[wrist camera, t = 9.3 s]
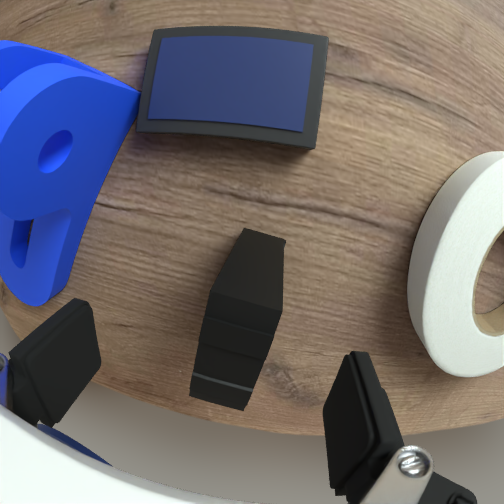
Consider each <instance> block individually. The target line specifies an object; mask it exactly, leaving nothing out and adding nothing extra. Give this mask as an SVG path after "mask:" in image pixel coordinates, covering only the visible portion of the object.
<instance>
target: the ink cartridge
mask: <svg viewBox="0 0 504 504" xmlns="http://www.w3.org/2000/svg"><path fill="white" fill-rule="evenodd" d="M285 243H286V240H284V239H282V238H278V237H275V236H271V235H268V234H264V233H261V232H257V231H254V230H250V229H246V228H244V229H243V231H242V233H241V234H240V236H239V238H238V240H237V242H236V244H235V246H234V247H233V249H232V251H231V253H230V255H229V257H228V259H227V260H226V262H225V264H224V266H223V268H222V270H221V272H220V273H219V275H218V277H217V279H216V281H215V283H214V285H213V287H212V288H211V290H210V294H209V298H208V303H207V307H206V311H205V316H204V318H203V322H202V327H201V332H200V336H199V343H198V348H197V353H196V359H195V364H194V369H193V373H192V378H191V383H190V393H189V396H191V397H195V398H198V399H201V400H204V401H208V402H211V403H215V404H218V405H222V406H226V407H229V408H233V409H237V410H241V411H244V408H245V406H246V405H247V404H248V401H249V399H250V397H251V394H252V392H253V389H254V386H255V384H256V381H257V379H258V376H259V374H260V371H261V369H262V366H263V364H264V361H265V360H266V357H267V355H268V352H269V349H270V347H271V344H272V341H273V338H274V334H275V331H276V328H277V325H278V323H279V320H280V317H281V314H282V310H283V267H284V247H285Z"/></svg>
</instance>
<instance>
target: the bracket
mask: <svg viewBox="0 0 504 504" xmlns="http://www.w3.org/2000/svg"><path fill="white" fill-rule="evenodd" d="M0 89H1V91H0V275H1V277H2V279H3V280H4V282H5V284H6V285H7V287H8V288H9V289H10V291H11V292H12V293H13V294H14V295H15V296H16V297H17V298H18V299H19V300H21V301H22V302H24V303H26V304H28V305H31V306H40V305H42V304H44V303H45V302H47V301H48V300H49V299H51V298H52V297H53V296H55V295H56V294H57V293H59V292H60V291H61V290H62V289H63V288H64V287H65V285H66V283H67V281H68V278H69V275H70V271H71V268H72V265H73V261H74V258H75V255H76V252H77V249H78V246H79V243H80V240H81V237H82V234H83V232H84V229H85V226H86V223H87V221H88V218H89V215H90V213H91V210H92V208H93V205H94V203H95V200H96V198H97V196H98V193H99V191H100V188H101V186H102V184H103V182H104V179H105V177H106V175H107V173H108V171H109V168H110V166H111V164H112V162H113V160H114V158H115V156H116V154H117V152H118V150H119V148H120V146H121V144H122V142H123V140H124V138H125V136H126V135H127V133H128V131H129V129H130V127H131V125H132V124H133V122H134V120H135V118H136V116H137V115H138V111H139V104H140V97H141V92H140V91H138V90H136V89H134V88H132V87H130V86H128V85H126V84H124V83H122V82H120V81H119V80H117V79H115V78H113V77H111V76H109V75H107V74H105V73H103V72H100V71H98V70H96V69H94V68H92V67H90V66H88V65H86V64H84V63H81V62H79V61H77V60H75V59H73V58H70V57H68V56H66V55H62V54H59V53H56V52H52V51H49V50H45V49H42V48H38V47H34V46H30V45H26V44H22V43H18V42H13V41H7V40H3V41H0ZM32 219H34V221H33V226H32V230H31V235H30V240H29V245H27V240H28V235H29V230H30V225H31V221H32Z"/></svg>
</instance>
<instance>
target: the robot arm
mask: <svg viewBox="0 0 504 504" xmlns="http://www.w3.org/2000/svg"><path fill="white" fill-rule="evenodd" d="M9 355H10V358H11V359H10V360H8V359H7V358H6V356H4V355H3V354H1V353H0V504H265V503H254V502H245V501H238V500H231V499H225V498H219V497H213V496H209V495H204V494H199V493H195V492H190V491H186V490H182V489H178V488H174V487H171V486H167V485H164V484H160V483H157V482H154V481H151V480H147V479H144V478H141V477H139V476H136V475H133V474H130V473H127V472H125V471H122V470H119V469H117V468H114V467H112V466H110V465H107V464H105V463H102V462H100V461H98V460H96V459H93V458H91V457H89V456H87V455H85V454H83V453H81V452H79V451H77V450H75V449H73V448H71V447H69V446H67V445H65V444H63V443H61V442H59V441H58V440H56V439H54V438H52V437H51V436H49V435H47V434H45V433H44V432H42V431H40V430H39V429H38V426H37V422H38V421H39V420H40V421H41V422H42V423H43V424H45V425H47V426H48V427H50V428H52V427H53V426H54V424H55V423H58V422H60V420H61V419H62V418H63V416H64V415H65V414H66V412H67V411H68V409H69V408H70V407H71V405H72V404H73V403H74V401H75V400H76V399H77V397H78V396H79V394H80V393H81V392H82V391H83V389H84V388H85V387H86V385H87V384H88V383H89V381H90V380H91V379H92V377H93V376H94V375H95V374H96V372H97V371H98V370H99V368H100V366H101V357H100V352H99V347H98V341H97V336H96V330H95V324H94V317H93V311H92V308H91V307H90V305H89V303H88V302H87V301H83V300H80V299H77V298H74V299H72V300H71V301H70V302H68V303H67V304H66V305H65V306H63V307H62V308H61V309H60V310H58V311H57V312H56V313H55V314H53V315H52V316H51V317H50V318H48V319H47V320H46V321H45V322H44V323H42V324H41V325H40V326H39V327H38V328H36V329H35V330H34V331H33V332H32V333H30V334H29V335H28V336H27V337H26V338H25V339H23V340H22V341H21V342H20V343H19V344H18V345H17V346H15V347H14V348H13V349H12V350H11V351H10V352H9ZM323 421H324V430H325V438H326V448H327V458H328V469H329V480H330V487H331V488H332V489H335V496H342V495H346V499H347V501H348V504H477V500H476V497H475V495H474V494H473V493H472V492H471V491H469V490H468V489H465V488H464V487H462V486H460V485H458V484H456V483H454V482H452V481H450V480H448V479H446V478H444V477H442V476H440V475H439V474H437V473H435V472H433V469H434V461H433V459H432V456H431V455H430V454H429V452H428V451H427V450H425V449H423V448H422V447H419V446H415V445H408V446H404V443H403V439H402V436H401V433H400V430H399V427H398V424H397V422H396V419H395V416H394V413H393V410H392V407H391V405H390V402H389V399H388V396H387V394H386V392H385V390H384V389H383V388H381V385H380V382H379V380H378V377H377V374H376V372H375V369H374V366H373V364H372V361H371V359H370V356H369V354H368V353H367V352H359V351H351V353H350V354H349V355H345V356H344V359H343V361H342V364H341V366H340V369H339V371H338V374H337V376H336V379H335V381H334V383H333V386H332V388H331V390H330V393H329V395H328V397H327V400H326V402H325V404H324V407H323Z"/></svg>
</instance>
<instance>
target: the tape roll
mask: <svg viewBox="0 0 504 504" xmlns="http://www.w3.org/2000/svg"><path fill="white" fill-rule="evenodd" d="M503 231H504V152H501V151H494V152H488V153H484V154H481V155H479V156H476V157H474V158H472V159H471V160H469V161H467V162H466V163H465V164H463V165H462V166H461V167H460V168H458V169H457V170H456V171H455V172H454V173H453V174H452V175H451V176H450V177H449V179H448V180H447V181H446V182H445V183H444V185H443V186H442V188H441V189H440V190H439V192H438V193H437V195H436V196H435V198H434V200H433V201H432V203H431V205H430V206H429V208H428V210H427V212H426V214H425V216H424V219H423V221H422V223H421V225H420V228H419V231H418V234H417V236H416V239H415V243H414V246H413V250H412V255H411V260H410V266H409V272H408V282H407V299H408V308H409V313H410V317H411V321H412V324H413V326H414V329H415V331H416V333H417V335H418V336H419V338H420V340H421V341H422V343H423V345H424V346H425V348H426V350H427V352H428V353H429V355H430V357H431V358H432V360H433V361H434V362H435V364H436V365H437V366H438V367H439V368H441V369H442V370H443V371H445V372H447V373H449V374H451V375H454V376H459V377H477V376H482V375H485V374H488V373H491V372H493V371H495V370H497V369H499V368H501V367H503V366H504V303H503V304H502V305H501V306H500V307H498V308H497V309H495V310H493V311H491V312H488V313H485V314H476V313H475V292H476V285H477V281H478V278H479V275H480V272H481V269H482V266H483V264H484V261H485V259H486V257H487V255H488V253H489V251H490V249H491V247H492V246H493V244H494V243H495V241H496V240H497V238H498V237H499V236H500V235H501V233H502V232H503Z"/></svg>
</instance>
